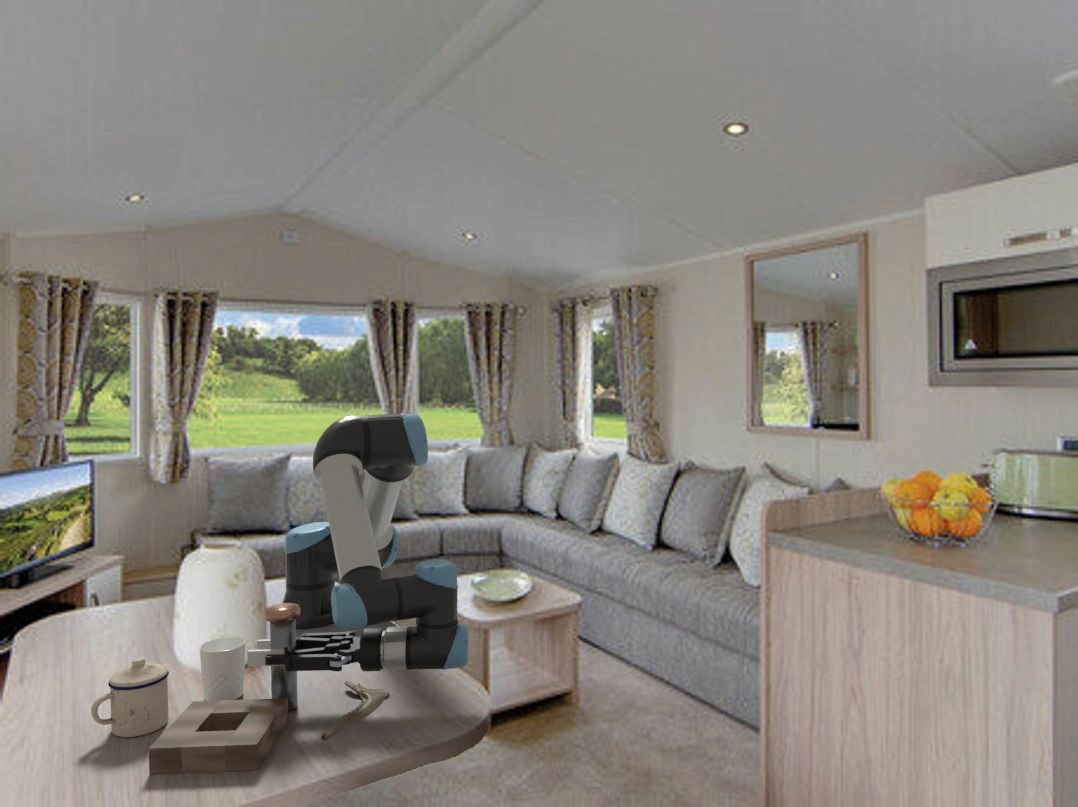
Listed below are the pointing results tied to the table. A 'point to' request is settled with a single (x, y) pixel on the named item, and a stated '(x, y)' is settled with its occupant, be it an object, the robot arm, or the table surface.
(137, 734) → the teacup with lid
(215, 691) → the white cup
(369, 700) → the jawbone
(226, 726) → the socket block
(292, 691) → the metal pin
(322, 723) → the table surface
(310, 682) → the table surface
